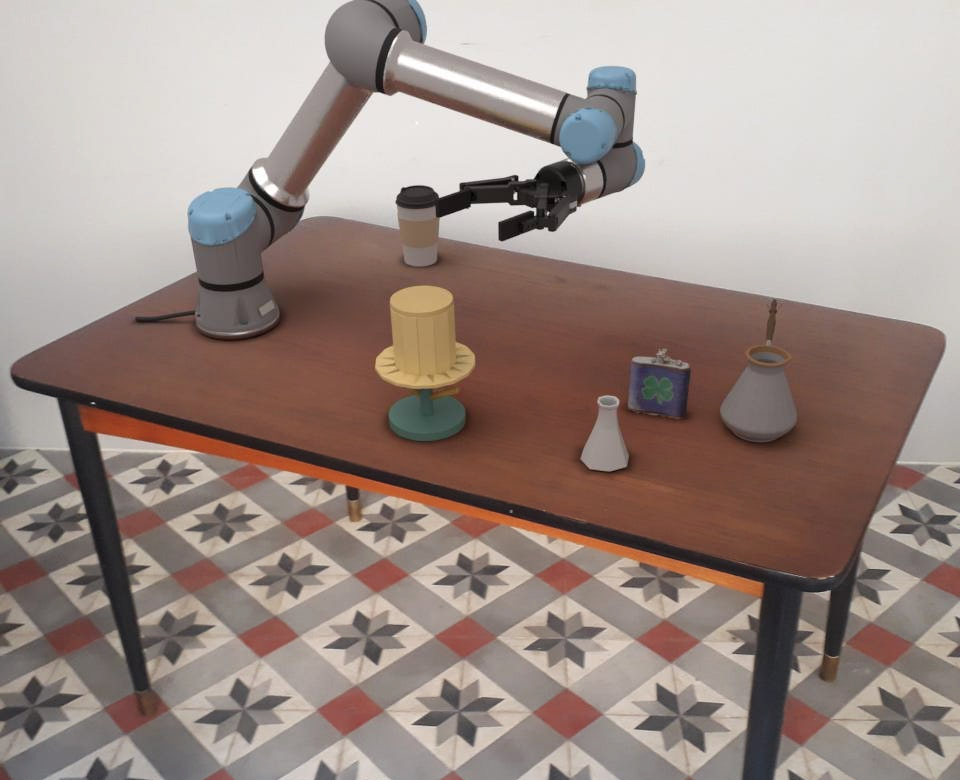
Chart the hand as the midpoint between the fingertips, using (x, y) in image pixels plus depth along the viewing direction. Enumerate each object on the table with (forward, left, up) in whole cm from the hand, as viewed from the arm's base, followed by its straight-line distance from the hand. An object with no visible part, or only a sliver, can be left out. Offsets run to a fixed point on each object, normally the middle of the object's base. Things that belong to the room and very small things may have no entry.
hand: (467, 220), depth 152 cm
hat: (-4, -9, -20) cm, 22 cm away
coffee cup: (-31, +49, -30) cm, 65 cm away
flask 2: (+29, +6, -30) cm, 42 cm away
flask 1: (+25, -10, -30) cm, 41 cm away
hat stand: (-4, -9, -30) cm, 31 cm away
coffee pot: (+44, +11, -30) cm, 55 cm away
